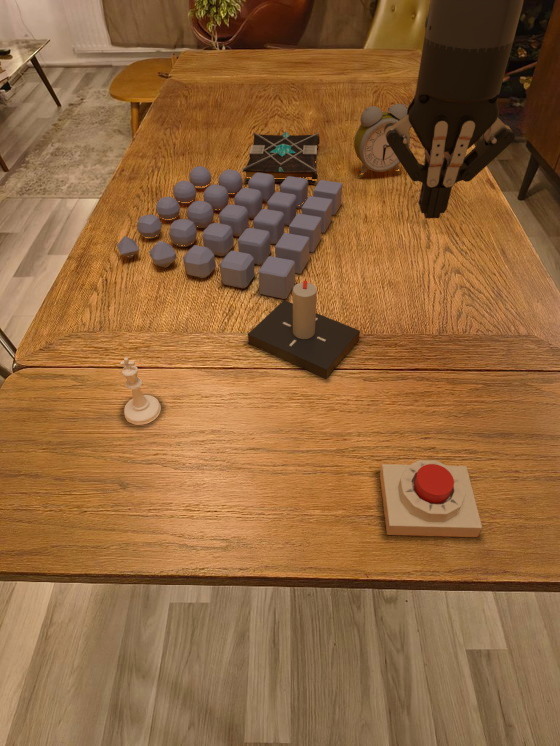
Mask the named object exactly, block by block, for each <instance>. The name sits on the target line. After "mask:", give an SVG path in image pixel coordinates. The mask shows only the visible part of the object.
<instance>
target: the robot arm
mask: <svg viewBox="0 0 560 746" xmlns="http://www.w3.org/2000/svg"><path fill="white" fill-rule="evenodd" d="M523 5H524V0H430V1H429V6H428V11H427V14H426V17H425V24H424V37H423V44H422V49H421V56H420V63H419V68H418V75H417V81H416V86H415V87H416V88H415V94H414V96H413V99H412V100H411V102H410V103H409V105H408V106H407V109H408V110H407V115H406V116H405V117H403V118H402V119H401V120H399V121H398V122H397V123H395V124H393V123H388V124H387V125H386V126H385V128H384V132H385V136H386V140H387V142H388V144H389V146H390V147H391V149H392V150H393V152H394V153H395V155H396V156H397V158H398V159H399V161H400V163H399V164H401V166H402V167H403V169H404V170H405V172H406V174H407V175H408V176H409V178H410V180H411V181H412V182H420V183H421V186H420V187H421V188H420V193H419V199H418V207H419V209H420V213H421V214H423V216H424V219H440V217H441V214H445V213H446V211H447V209H448V206H449V201H450V197H451V193H452V188H453V187H454V185H455V184H457V183H458V182H459V183H460V182H462V181H463V182H465V183H467V182H471V181H472V180H473V179H474V178H475V177H476V176H477V175H479V173H481V172H482V171H483V170H484V169H485V168H486V167H487V166H488V165H489V164H490V163H492V162H493V161H494V160H495V159H496V158H497V157H498V156H499V155H500V154H501V153H502V152H504V151H505V149H507V147H509V146H510V145H511V144H512V143H513V142H514V141H515V137H516V136H515V134H514V132H513V129H512V128H510V126H509V125H508V124H507V122H503V121H502V120H501V119H500V118H499V115H500V108H499V105H498V104H499V103H498V98H499V95H500V92H501V88H502V86H503V85H502V84H503V81H504V77H505V75H506V69H507V66H508V62H509V59H510V55H511V52H512V51H511V50H512V48H513V44H514V39H515V37H516V32H517V28H518V24H519V21H520V17H521V13H522V10H523ZM411 128H412V129H413V132H414V133H415V135H416V137H417V138H418V140H419V142H420V144H421V146H422V148H423V149H424V160H423V161H424V164H423V163H420V162H419V161H418V159H417V158H416V156H415V155H414V153H413V151H412V150H411V148H410V145H409V146H408V145H407V143H408V142H409V141H410V142H411V134H410V131H411ZM482 136H483V139H482V140H481V141H480V142H479V143H477V145H475V143H476V142H477V141H478V140H479V139H480V138H481V137H482ZM473 145H475V146H474V147H473V148H472V149H471V150H470V151H469V152H468V153H467V151H468V149H470V148H471V147H472V146H473ZM466 154H467V155H466Z"/></svg>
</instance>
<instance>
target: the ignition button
mask: <svg viewBox="0 0 560 746" xmlns="http://www.w3.org/2000/svg"><path fill="white" fill-rule="evenodd" d="M453 486H454V479H453V477H452V475H451V473H450V472H449V471H448V470H447V469H446V468H444V467H442V466H440V465H436V464H427V465H424V466H422V467H421V468H420V469H419V470H418V472H417V475H416V478H415V481H414V488H415V491H416V493H417V494H418V496H419V497H420V498H421V499H423V500H425V501H427V502H429V503H435V504H436V503H442V502H444V501H446V500H447V499H448V498H449V496H450V494H451V491H452V489H453Z"/></svg>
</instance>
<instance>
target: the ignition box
mask: <svg viewBox="0 0 560 746" xmlns="http://www.w3.org/2000/svg"><path fill="white" fill-rule="evenodd" d="M427 464H436V465H440V466H442V467H444V468H446V469H447V470H448V471H449V472H450V473H451V475H452V477H453V479H454V486H453V489H452V491H451V494H450V496H449V498H448V499H447V500H446V501H444V502H442V503H436V504H435V503H429V502H427V501H425V500H423V499H421V498H420V497H419V496H418V494H417V493H416V491H415V488H414V481H415V478H416V475H417V472H418V470H419V469H420V468H421V467H422V466H424V465H427ZM379 479H380V487H381V488H380V489H381V496H382V497H381V498H382V504H383V513H384V522H385V528H386V529H385V531H386V535H387V536H414V537H415V536H418V537H455V538H456V537H457V538H458V537H459V538H478V537H479V535H480V533H481V531H482V530H483V525H482V521H481V517H480V513H479V509H478V505H477V502H476V497H475V494H474V490H473V486H472V481H471V478H470V474H469V470H468V467H467V465H447V464H445V463H443V462H440V461H438V460H434V459H419V460H416V461H414V462H413V463H411V464H400V463H399V464H398V463H397V464H395V463H394V464H393V463H382V464H381V467H380V472H379Z"/></svg>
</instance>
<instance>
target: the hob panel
mask: <svg viewBox="0 0 560 746" xmlns="http://www.w3.org/2000/svg"><path fill="white" fill-rule="evenodd" d="M360 333H361V330H360V329H358V328H355V327H353V326H350V325H347V324H345V323H343V322H340V321H337V320H335V319H333V318H330V317H328V316H325V315H322V314H320V313H318V312H316V321H315V334H314V336H312V337H311V338H309V339H299V338H297V337H296V336H294V334H293V302H290V301H288V300H286V299H283V300H282V301H281V302H280V303H279V304H278V305H277V306H276V307H275V308H274V309H273V310H272V311H270V313H268V314H267V315H266V316H265V317H264V318H263V319H262V320H261V321H260V322H259V323H258V324H256V326H254V327H253V328H252V329H251V330H250V331H249V332H248V333H247V341H248V344H249V345H251V346H253V347H256V348H258V349H259V350H262V351H264V352H266V353H269V354H271V355H273V356H275V357H277V358H280V359H281V360H284V361H285V362H287V363H288V362H289V363H291V364H293V365H294V366H297V367H299V368H302V369H304V370H305V371H308V372H310V373H312V374H315V375H317V376H318V377H321V378H323V379H325V380H327V379H328V377H329V376H330V375H331V374H332V373H333V372H334V370H335V369H336V368H337V367H338V366H339V364H341V362H342V361H343V360H344V358H346V356H347V355H348V354H349V352H350V351H351V350H352V349H353V348H354V346H355V345H356V344H357V343H358V342H359V340H360Z"/></svg>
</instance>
